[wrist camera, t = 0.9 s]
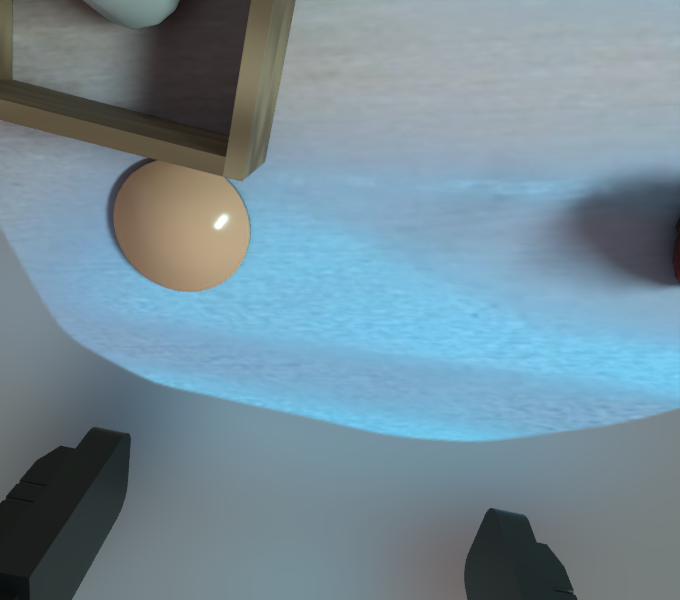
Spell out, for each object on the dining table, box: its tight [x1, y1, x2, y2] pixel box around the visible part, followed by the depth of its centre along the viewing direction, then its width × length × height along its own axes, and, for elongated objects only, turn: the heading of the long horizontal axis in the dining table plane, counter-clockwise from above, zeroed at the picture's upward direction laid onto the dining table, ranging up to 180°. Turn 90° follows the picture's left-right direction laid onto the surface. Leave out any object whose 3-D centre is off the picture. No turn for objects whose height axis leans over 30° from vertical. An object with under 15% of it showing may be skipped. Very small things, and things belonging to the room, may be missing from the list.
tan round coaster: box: [113, 160, 251, 292], centre depth 35 cm, size 9×9×1 cm
